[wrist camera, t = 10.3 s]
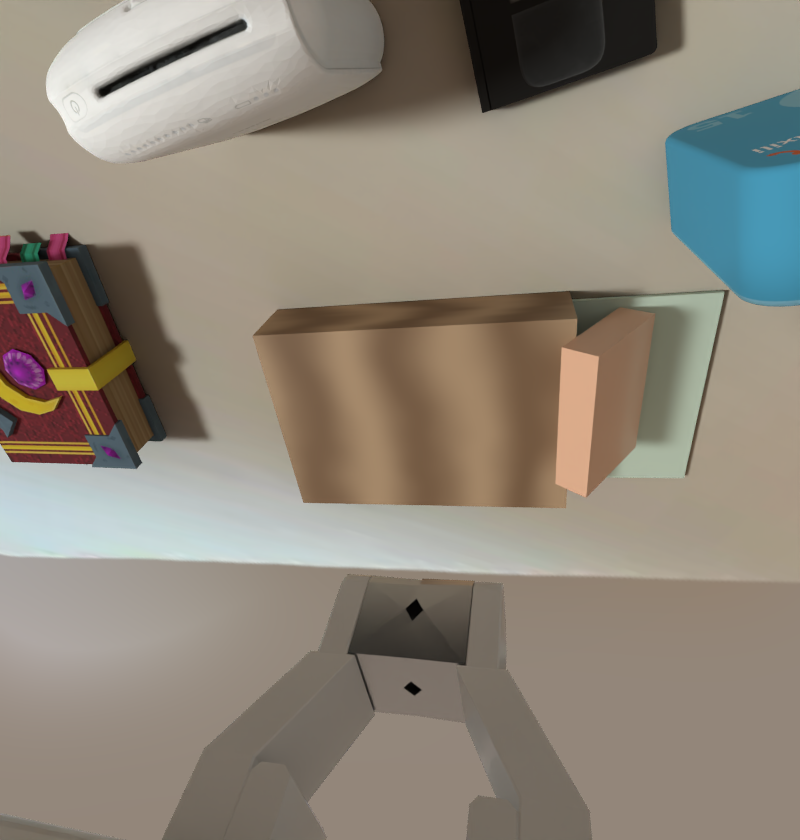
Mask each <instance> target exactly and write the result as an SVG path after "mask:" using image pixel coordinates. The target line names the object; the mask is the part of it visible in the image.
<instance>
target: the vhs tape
mask: <svg viewBox="0 0 800 840" xmlns="http://www.w3.org/2000/svg"><path fill="white" fill-rule="evenodd" d="M460 4H461V9H462V14H463V19H464V24H465V29H466V34H467V39H468V44H469V49H470V54H471V59H472V64H473V69H474V74H475V78H476V83H477V88H478V93H479V98H480V103H481V108H482V113H484V112H487V111H490V110H493V109H496V108H499V107H502V106H505V105H508V104H511V103H514V102H517V101H519V100H522V99H525V98H528V97H531V96H534V95H537V94H540V93H542V92H545V91H548V90H551V89H554V88H557V87H560V86H562V85H565V84H568V83H571V82H574V81H577V80H580V79H583V78H585V77H588V76H591V75H594V74H597V73H600V72H603V71H605V70H608V69H611V68H614V67H617V66H619V65H622V64H625V63H628V62H631V61H633V60H636V59H639V58H642V57H644V56H647V55H650V54H652V53H654V52H655V51H656V48H657V38H656V17H655V0H460Z"/></svg>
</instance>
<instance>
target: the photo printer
mask: <svg viewBox="0 0 800 840" xmlns="http://www.w3.org/2000/svg"><path fill="white" fill-rule="evenodd" d="M383 52H384V32H383V27H382V23H381V20H380V17H379V15H378V12H377V11H376V9H375V7H374V6H373V4H372V3H371V2H370V1H369V0H124V1H122V2H121V3H119V4H117V5H116V6H114V7H112V8H110V9H109V10H107V11H106V12H104V13H103V14H101V15H100V16H98V17H97V18H95V19H94V20H92V21H91V22H89V23H88V24H87V25H86V26H84V27H83V28H81V29H80V30H79V31H78V33H77V34H76V35H75V36H74V37H73V38H71V39H70V40H69V41H68V42H67V43H66V45H65V46H64V47H63V48H62V49H61V50H60V52H59V53H58V55H57V56H56V58H55V59H54V61H53V63H52V64H51V66H50V68H49V70H48V73H47V79H46V92H47V96H48V99H49V101H50V102H51V103H52V105H53V106H54V107H55V108H56V109H57V111H58V112H59V113H60V115H61V117H62V118H63V120H64V122H65V125H66V127H67V130H68V133H69V134H70V135H71V137H72V138H73V139H74V140H75V141H76V142H77V143H78V144H79V145H81V146H82V147H83V148H84V149H86V150H87V151H88V152H90V153H91V154H93V155H95V156H96V157H98V158H100V159H102V160H105V161H108V162H112V163H135V162H141V161H146V160H150V159H154V158H158V157H162V156H166V155H170V154H174V153H178V152H182V151H186V150H190V149H194V148H198V147H202V146H206V145H210V144H214V143H218V142H222V141H225V140H229V139H232V138H235V137H239V136H242V135H245V134H248V133H251V132H254V131H257V130H260V129H263V128H265V127H268V126H270V125H273V124H276V123H278V122H281V121H284V120H286V119H289V118H291V117H294V116H296V115H299V114H301V113H304V112H306V111H308V110H311V109H313V108H315V107H318V106H320V105H322V104H324V103H327V102H329V101H331V100H333V99H335V98H337V97H340V96H342V95H344V94H346V93H348V92H350V91H352V90H355V89H357V88H358V87H360V86H362V85H363V84H365V83H367V82H368V81H370V80H371V79H373V78H374V77H375V76H377V75H378V74H379V73H380V72H381V71H382V67H381V63H380V62H381V60H382V56H383Z"/></svg>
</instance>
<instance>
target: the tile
mask: <svg viewBox="0 0 800 840" xmlns="http://www.w3.org/2000/svg"><path fill="white" fill-rule="evenodd" d="M654 320H655V313H649V312H644V311H638V310H633V309H627V308H622V307H619V308H618V309H616V310H615V311H613V312H612V313H611V314H609V315H608V316H606V317H605V318H603V319H602V320H600V321H599V322H598V323H596V324H595V325H593V326H592V327H590V328H589V329H587V330H586V331H585V332H583V333H582V334H580V335H579V336H577V337H576V338H574V339H573V340H571V341H570V342H569V343H567V344H566V345H564V346H563V347H562V351H561V373H560V394H559V416H558V437H557V459H556V481H555V484H557V485H559V486H561V487H564V488H566V489H568V490H570V491H572V492H575V493H577V494H579V495H581V496H583V497H587V496H588V495H589V494H590V493H591V492H592V491H593V490H594V489H595V488H596V487H597V486H598V485H599V484H600V483H601V482H602V481H603V480H604V479H605V478H606V477H607V476H608V475H609V474H610V473H611V472H612V471H613V470H614V469H615V468H616V467H617V466H618V465H619V464H620V463H621V462H622V461H623V460H624V459H625V458H626V457H627V456H628V455H629V454H630V453H631V451H632V450H633V449H634V448H635V447H636V441H637V434H638V428H639V421H640V414H641V408H642V401H643V394H644V387H645V381H646V374H647V367H648V360H649V354H650V347H651V340H652V333H653V327H654Z"/></svg>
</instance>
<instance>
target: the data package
mask: <svg viewBox="0 0 800 840" xmlns="http://www.w3.org/2000/svg"><path fill="white" fill-rule="evenodd" d="M665 145H666V159H667V173H668V187H669V201H670V215H671V229H672V232H673V234H674V235H675V236H676V237H677V238H678V239H679V240H680V241H682V242H683V243H684V244H685V245H686V246H687V247H688V248H689V249H690V250H691V251H692V252H693V253H694V254H695V255H696V256H697V257H698V258H699V259H700V260H701V261H702V262H703V263H704V264H705V265H706V266H707V267H708V268H709V269H710V270H711V271H712V272H713V273H714V274H715V275H716V276H717V277H719V278H720V279H721V280H722V281H723V282H724V283H725V284H726V285H727V286H728V287H729V288H730V289H731V290H732V291H733V292H734V293H735V294H736V295H737V296H738V297H739V298H741V299H742V300H744V301H746V302H749V303H752V304H756V305H762V306H796V305H800V89H798V90H795V91H792V92H789V93H786V94H783V95H780V96H777V97H774V98H771V99H768V100H765V101H762V102H759V103H756V104H753V105H750V106H746V107H743V108H740V109H737V110H734V111H731V112H728V113H725V114H722V115H719V116H716V117H713V118H710V119H707V120H704V121H701V122H698V123H695V124H692V125H689V126H687V127H684V128H682V129H680V130H678V131H676V132H674V133H672V134H671V135H670V136H669V137H668V138H667V140H666V143H665Z"/></svg>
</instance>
